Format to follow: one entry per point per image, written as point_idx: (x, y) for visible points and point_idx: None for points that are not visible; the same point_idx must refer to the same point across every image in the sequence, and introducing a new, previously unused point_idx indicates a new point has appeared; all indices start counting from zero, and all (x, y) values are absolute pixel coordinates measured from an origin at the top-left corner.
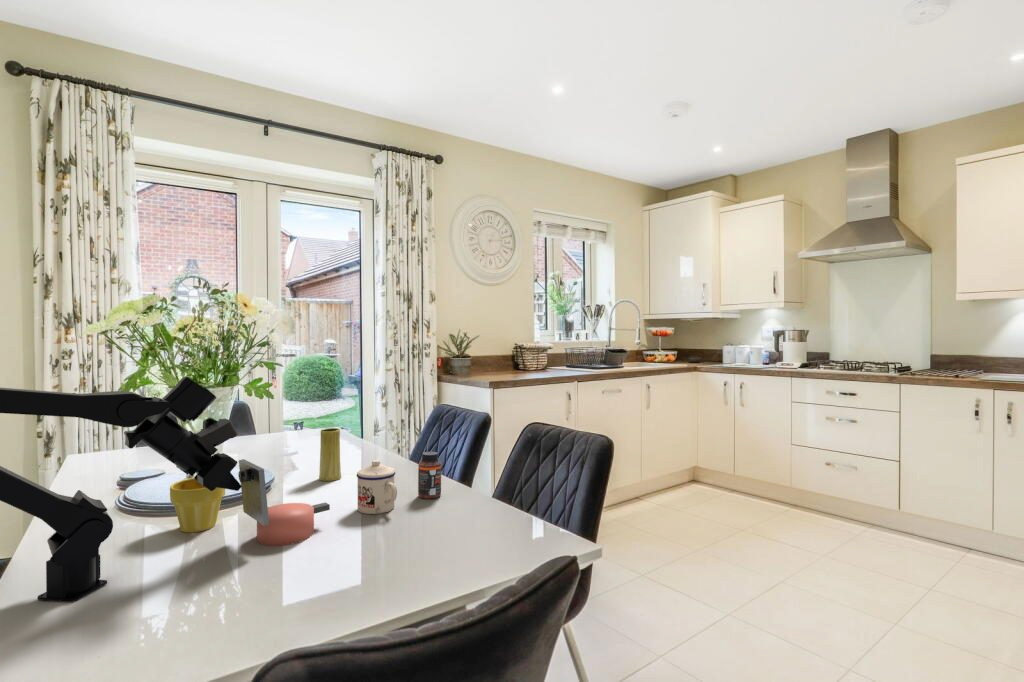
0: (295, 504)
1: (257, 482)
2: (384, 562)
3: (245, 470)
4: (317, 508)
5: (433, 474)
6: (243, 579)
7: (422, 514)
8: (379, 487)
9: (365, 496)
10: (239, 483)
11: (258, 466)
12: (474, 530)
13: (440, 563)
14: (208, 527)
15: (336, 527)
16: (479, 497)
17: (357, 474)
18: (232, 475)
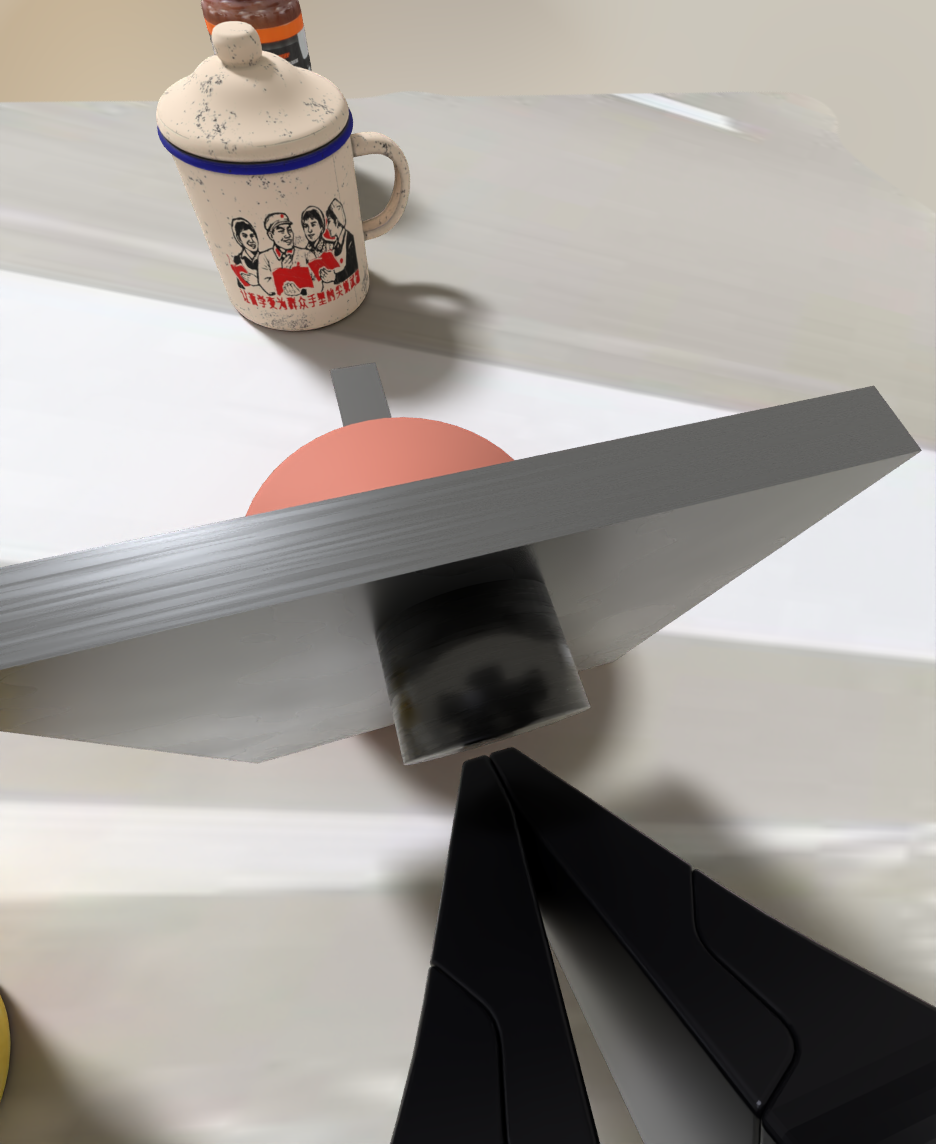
0: (298, 477)
1: (713, 564)
2: (803, 375)
3: (505, 637)
4: (387, 411)
5: (307, 52)
6: (867, 806)
7: (448, 218)
8: (352, 179)
9: (325, 253)
10: (540, 766)
11: (681, 428)
12: (639, 179)
13: (839, 284)
14: (3, 1013)
15: None
16: (391, 103)
17: (230, 158)
18: (711, 878)
